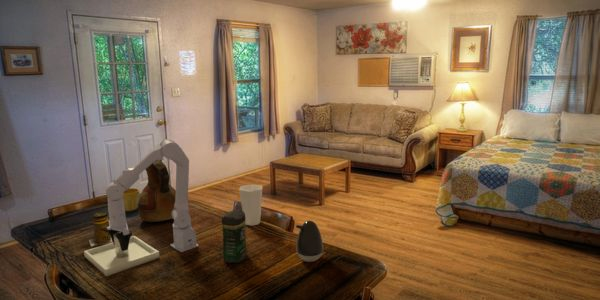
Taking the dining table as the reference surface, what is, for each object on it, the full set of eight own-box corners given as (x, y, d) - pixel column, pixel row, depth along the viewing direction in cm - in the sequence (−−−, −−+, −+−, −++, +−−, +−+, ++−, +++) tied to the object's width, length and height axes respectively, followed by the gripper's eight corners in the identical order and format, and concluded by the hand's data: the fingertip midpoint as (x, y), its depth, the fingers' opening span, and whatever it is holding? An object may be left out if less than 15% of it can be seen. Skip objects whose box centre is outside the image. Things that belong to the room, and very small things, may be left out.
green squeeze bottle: (239, 265, 154) (237, 217, 150) (220, 262, 156) (217, 215, 152) (250, 254, 163) (248, 208, 159) (232, 251, 165) (229, 207, 161)
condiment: (113, 241, 176) (110, 215, 174) (91, 246, 172) (87, 219, 169) (110, 236, 182) (107, 210, 180) (88, 240, 178) (85, 214, 175)
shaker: (131, 254, 162) (129, 232, 160) (120, 259, 159) (117, 237, 157) (124, 251, 165) (122, 230, 163) (113, 255, 161) (110, 234, 160)
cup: (268, 221, 196) (267, 186, 193) (255, 228, 188) (253, 192, 184) (250, 217, 202) (248, 183, 199) (236, 224, 194) (234, 188, 190)
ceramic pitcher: (165, 209, 215) (160, 152, 209) (191, 217, 203) (186, 157, 197) (131, 221, 199) (124, 160, 193) (156, 230, 188) (150, 165, 182)
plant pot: (144, 208, 217) (142, 190, 215) (125, 213, 209) (123, 195, 207) (135, 204, 224) (133, 186, 222) (116, 209, 216) (114, 191, 214)
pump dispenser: (291, 255, 161) (291, 218, 158) (316, 251, 165) (316, 214, 161) (301, 267, 152) (301, 228, 148) (327, 262, 155) (327, 223, 152)
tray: (159, 257, 161) (158, 251, 161) (106, 276, 147) (105, 269, 147) (135, 241, 176) (134, 235, 176) (84, 257, 163) (84, 251, 162)
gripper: (99, 212, 161) (103, 244, 163) (113, 221, 150) (117, 256, 153) (117, 207, 165) (121, 239, 168) (133, 216, 155) (136, 250, 158)
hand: (120, 247), depth 161 cm, fingers open, 7 cm apart
